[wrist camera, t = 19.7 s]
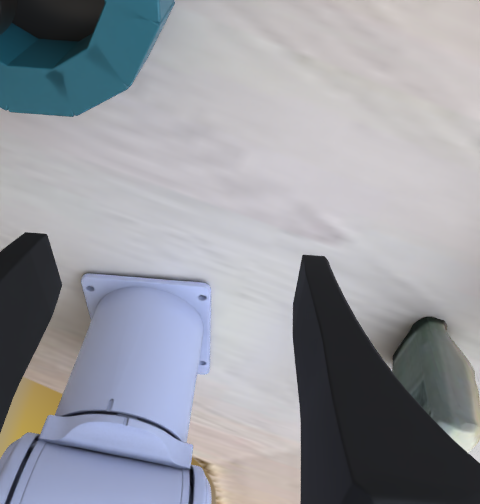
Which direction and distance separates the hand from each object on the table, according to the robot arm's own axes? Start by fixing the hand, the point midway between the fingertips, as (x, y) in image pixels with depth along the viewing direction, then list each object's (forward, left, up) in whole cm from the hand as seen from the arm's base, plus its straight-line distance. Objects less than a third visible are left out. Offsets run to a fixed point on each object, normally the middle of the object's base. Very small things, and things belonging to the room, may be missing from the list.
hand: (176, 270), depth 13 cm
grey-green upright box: (-15, -14, -11) cm, 23 cm away
